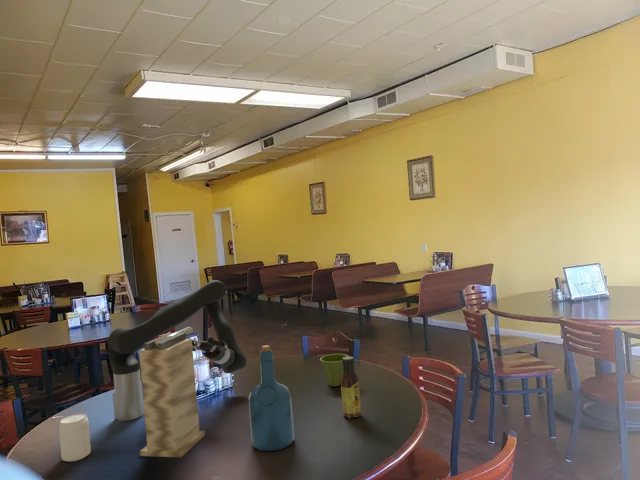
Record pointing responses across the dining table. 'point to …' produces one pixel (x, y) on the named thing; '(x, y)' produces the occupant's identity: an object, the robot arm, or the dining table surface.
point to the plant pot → (333, 368)
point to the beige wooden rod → (186, 330)
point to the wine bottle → (270, 409)
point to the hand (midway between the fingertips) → (198, 339)
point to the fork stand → (169, 397)
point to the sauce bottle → (350, 389)
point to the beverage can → (74, 437)
